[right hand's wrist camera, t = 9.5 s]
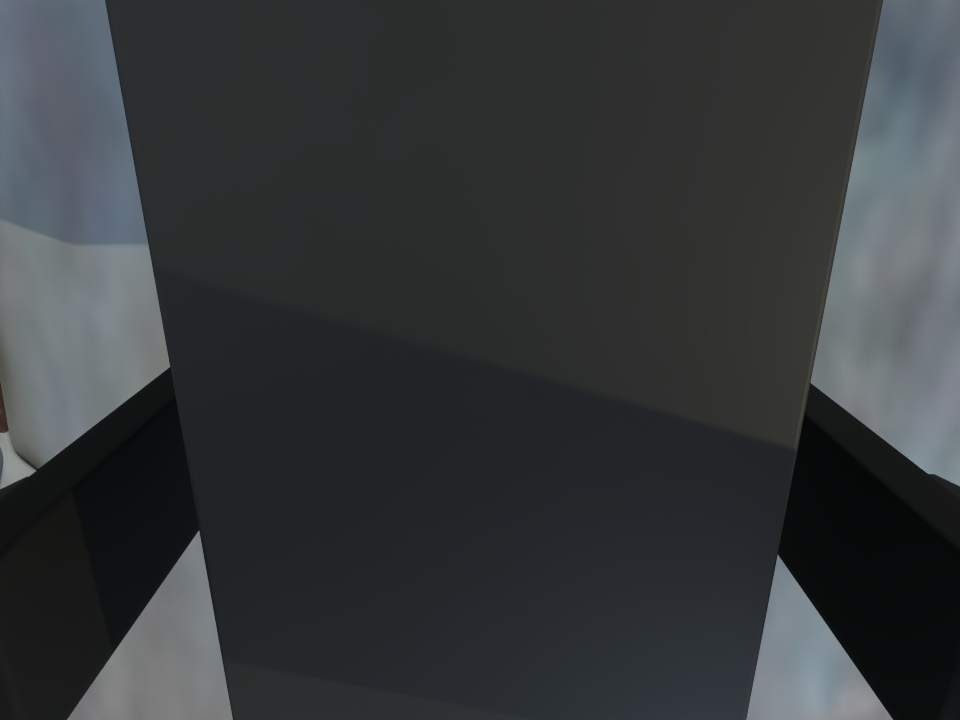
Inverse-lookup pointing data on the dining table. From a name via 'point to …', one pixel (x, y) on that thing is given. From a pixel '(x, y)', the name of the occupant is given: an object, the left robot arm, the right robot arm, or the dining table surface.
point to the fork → (10, 454)
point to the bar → (492, 335)
